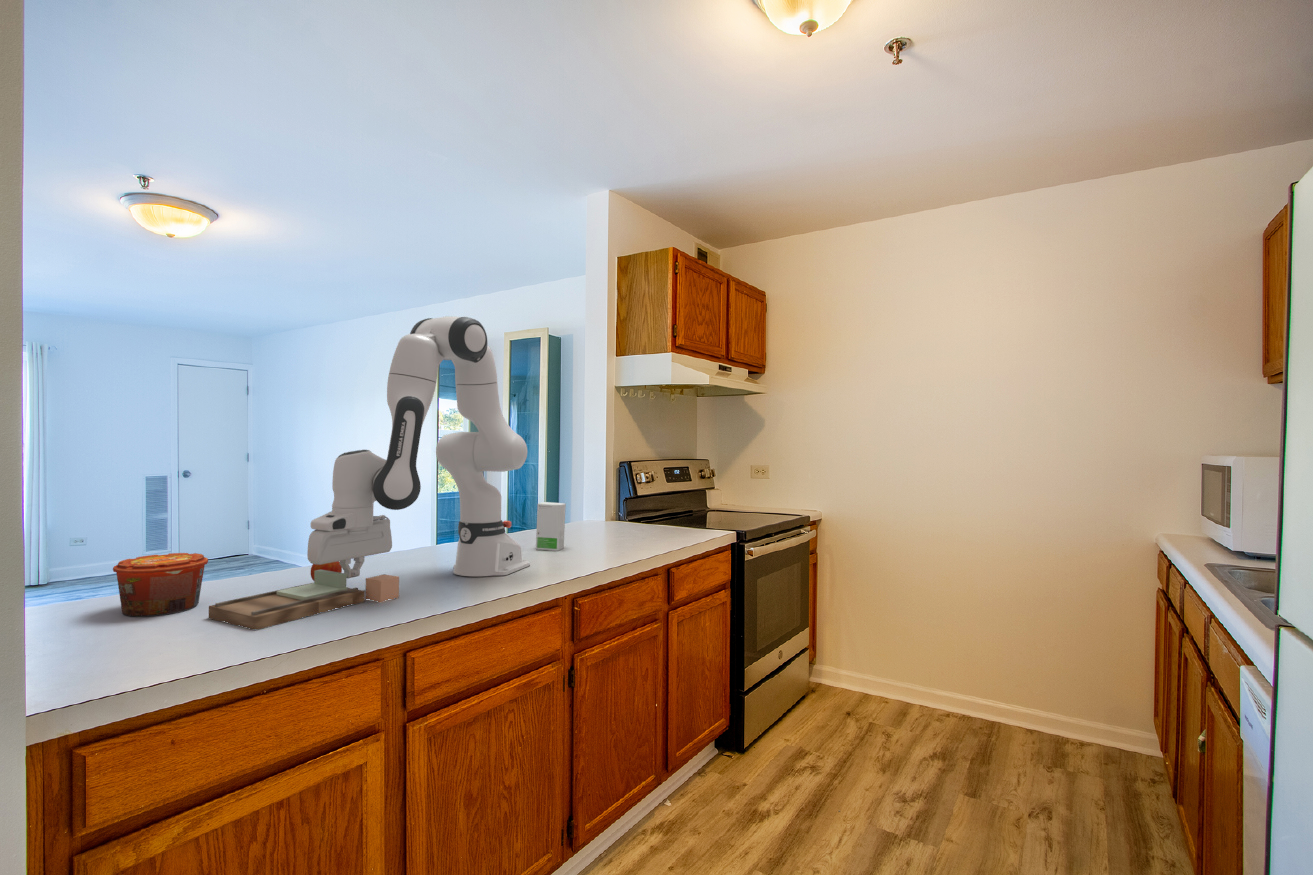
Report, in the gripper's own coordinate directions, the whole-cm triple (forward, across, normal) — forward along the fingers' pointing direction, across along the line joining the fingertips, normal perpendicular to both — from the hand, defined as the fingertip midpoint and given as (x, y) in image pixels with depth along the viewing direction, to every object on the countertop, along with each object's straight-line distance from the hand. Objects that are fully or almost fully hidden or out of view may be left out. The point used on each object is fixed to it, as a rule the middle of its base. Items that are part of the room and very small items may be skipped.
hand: (351, 577), depth 147 cm
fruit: (+4, -3, -14) cm, 15 cm away
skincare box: (+4, -73, +3) cm, 73 cm away
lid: (+2, +10, 0) cm, 10 cm away
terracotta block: (+4, -1, +9) cm, 10 cm away
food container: (+4, +28, -24) cm, 37 cm away
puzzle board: (+4, +15, 0) cm, 15 cm away
